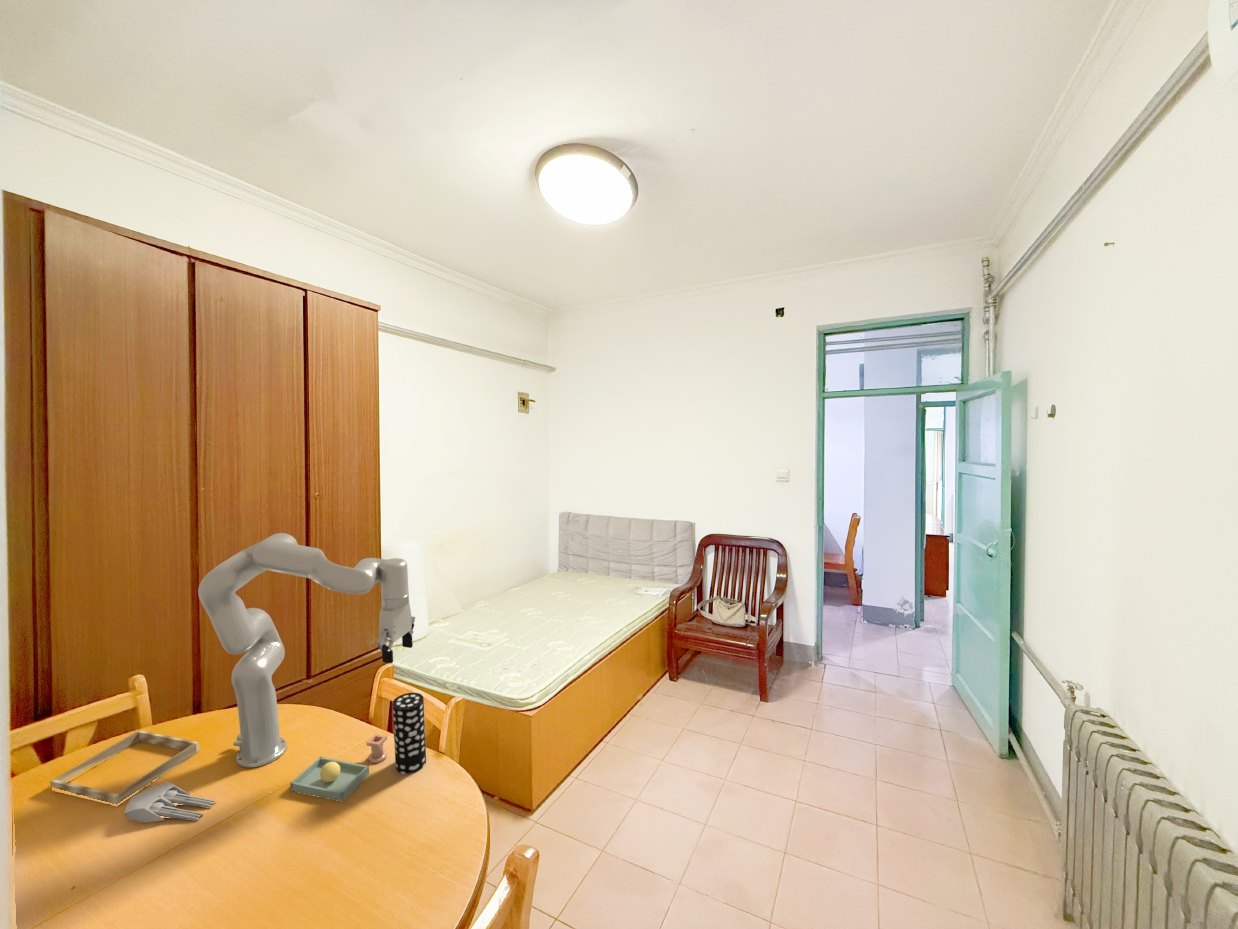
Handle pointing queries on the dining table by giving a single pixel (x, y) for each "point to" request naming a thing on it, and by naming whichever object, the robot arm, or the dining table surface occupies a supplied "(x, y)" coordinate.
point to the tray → (333, 790)
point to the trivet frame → (143, 736)
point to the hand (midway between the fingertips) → (398, 654)
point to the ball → (330, 771)
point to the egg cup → (377, 748)
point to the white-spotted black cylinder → (409, 733)
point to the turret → (163, 804)
